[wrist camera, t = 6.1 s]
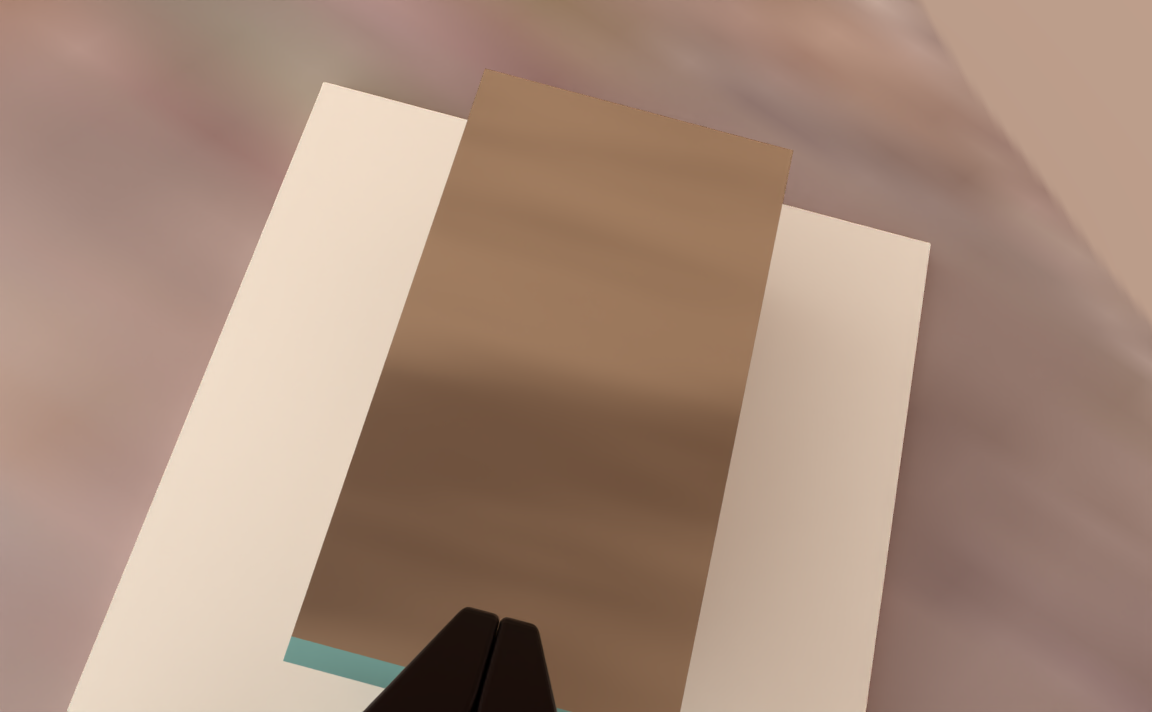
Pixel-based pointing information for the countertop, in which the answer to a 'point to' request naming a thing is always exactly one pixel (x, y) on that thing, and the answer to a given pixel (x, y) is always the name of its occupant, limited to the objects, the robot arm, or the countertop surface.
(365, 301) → the cream board
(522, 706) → the robot arm
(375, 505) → the walnut block
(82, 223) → the countertop surface
